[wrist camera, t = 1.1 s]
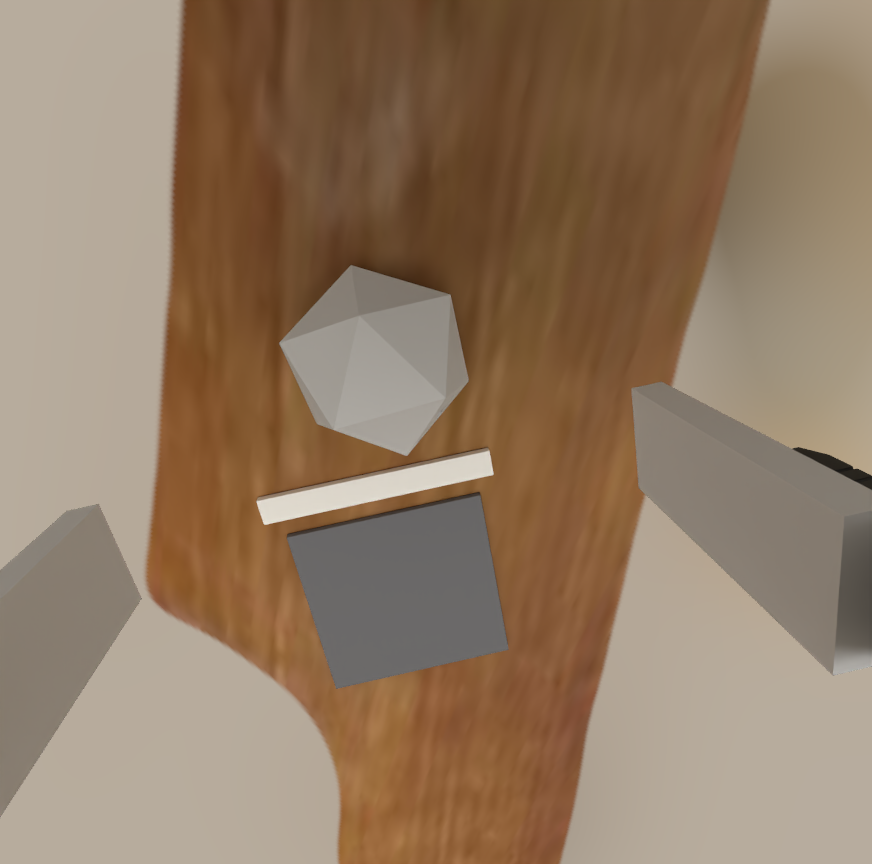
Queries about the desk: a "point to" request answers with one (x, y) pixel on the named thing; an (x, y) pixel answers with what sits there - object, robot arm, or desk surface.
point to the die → (378, 358)
